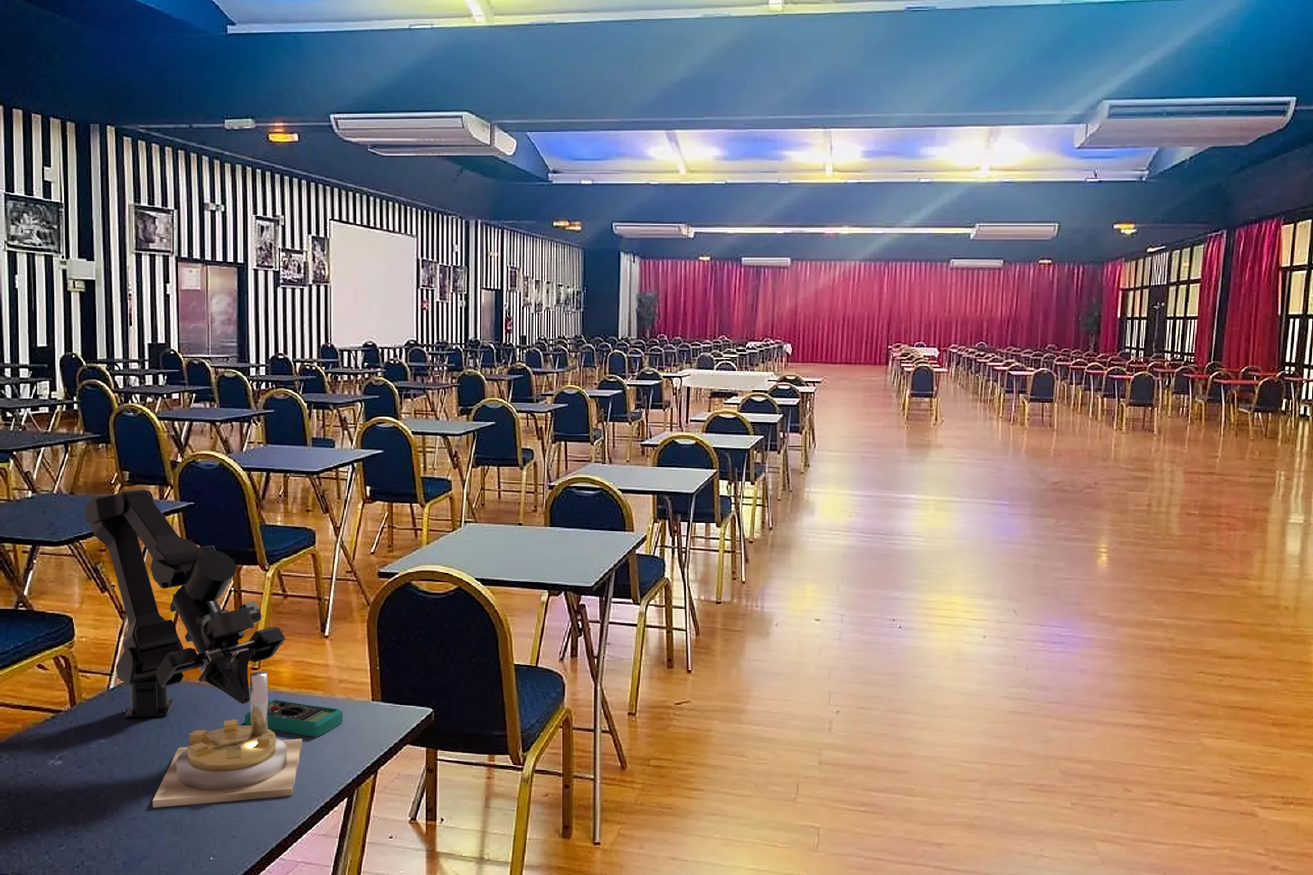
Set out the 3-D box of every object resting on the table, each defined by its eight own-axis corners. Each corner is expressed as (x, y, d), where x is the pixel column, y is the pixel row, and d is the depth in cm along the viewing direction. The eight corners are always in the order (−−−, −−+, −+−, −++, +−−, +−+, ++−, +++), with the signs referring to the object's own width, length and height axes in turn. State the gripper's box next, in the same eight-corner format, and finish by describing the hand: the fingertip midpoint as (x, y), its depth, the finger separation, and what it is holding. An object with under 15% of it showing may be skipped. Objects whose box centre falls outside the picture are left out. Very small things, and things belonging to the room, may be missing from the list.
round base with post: (195, 741, 155) (194, 670, 154) (280, 735, 158) (279, 665, 157) (179, 775, 143) (177, 699, 142) (271, 768, 146) (270, 694, 145)
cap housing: (178, 754, 157) (178, 735, 157) (302, 744, 162) (301, 726, 162) (152, 807, 140) (152, 786, 140) (292, 795, 145) (291, 775, 144)
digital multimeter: (270, 712, 176) (270, 696, 176) (344, 724, 172) (344, 707, 171) (241, 728, 169) (240, 711, 169) (317, 740, 165) (317, 723, 164)
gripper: (164, 600, 148) (209, 690, 143) (277, 576, 163) (321, 657, 158) (137, 642, 153) (179, 731, 148) (249, 616, 169) (291, 695, 163)
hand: (246, 702), depth 154 cm, fingers closed
